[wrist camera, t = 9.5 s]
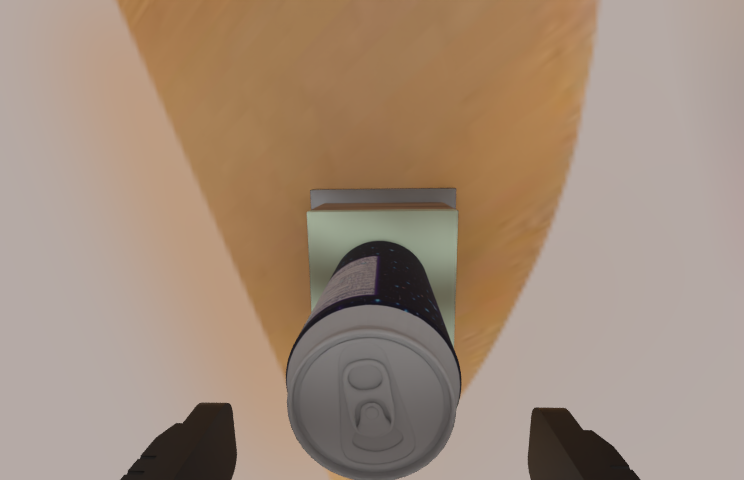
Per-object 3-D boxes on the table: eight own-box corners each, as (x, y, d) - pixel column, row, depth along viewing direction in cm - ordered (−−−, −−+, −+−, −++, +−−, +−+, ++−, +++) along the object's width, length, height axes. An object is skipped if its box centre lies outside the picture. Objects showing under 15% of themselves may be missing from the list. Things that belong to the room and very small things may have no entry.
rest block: (312, 189, 28) (289, 195, 21) (453, 187, 28) (476, 193, 21) (318, 320, 30) (298, 364, 23) (449, 321, 30) (468, 366, 23)
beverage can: (343, 331, 23) (295, 503, 11) (327, 245, 22) (253, 332, 10) (432, 319, 22) (481, 484, 11) (419, 230, 21) (457, 303, 10)
